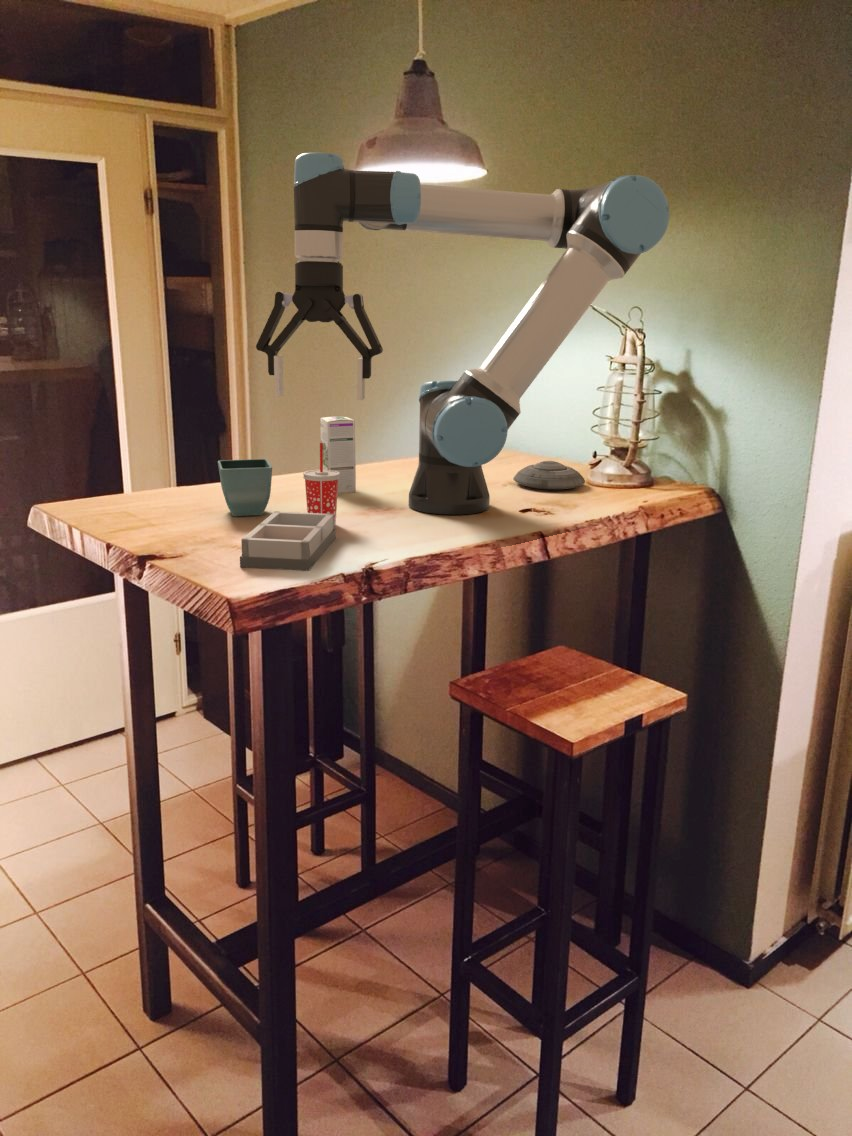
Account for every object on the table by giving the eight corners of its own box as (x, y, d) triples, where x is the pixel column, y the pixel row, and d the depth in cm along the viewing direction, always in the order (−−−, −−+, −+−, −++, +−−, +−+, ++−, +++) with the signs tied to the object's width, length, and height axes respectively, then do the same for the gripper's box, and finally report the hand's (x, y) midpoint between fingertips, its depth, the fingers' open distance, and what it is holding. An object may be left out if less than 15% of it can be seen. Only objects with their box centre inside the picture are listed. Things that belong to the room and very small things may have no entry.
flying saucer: (594, 484, 200) (595, 459, 198) (570, 496, 187) (572, 469, 186) (528, 477, 207) (530, 452, 205) (501, 488, 194) (502, 462, 192)
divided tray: (335, 537, 150) (335, 513, 149) (308, 570, 132) (308, 543, 131) (275, 534, 151) (274, 510, 150) (240, 567, 133) (239, 539, 132)
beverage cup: (340, 521, 162) (340, 440, 158) (339, 529, 156) (338, 446, 152) (305, 520, 161) (304, 439, 157) (302, 529, 155) (301, 445, 152)
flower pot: (222, 520, 160) (220, 468, 158) (219, 509, 169) (217, 459, 166) (273, 518, 163) (272, 467, 160) (268, 507, 171) (267, 458, 168)
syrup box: (356, 492, 185) (356, 419, 181) (327, 494, 183) (327, 420, 179) (348, 487, 190) (348, 415, 186) (320, 489, 188) (319, 416, 184)
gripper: (400, 263, 149) (398, 398, 155) (248, 260, 151) (251, 392, 157) (394, 261, 142) (392, 402, 148) (234, 258, 144) (238, 397, 150)
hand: (319, 397), depth 153 cm, fingers open, 13 cm apart
